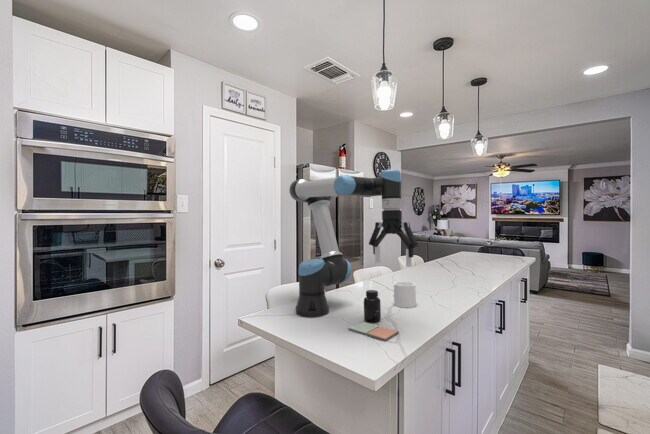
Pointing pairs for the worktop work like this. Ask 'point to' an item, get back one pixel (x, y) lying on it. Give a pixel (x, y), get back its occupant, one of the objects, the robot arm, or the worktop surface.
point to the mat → (374, 331)
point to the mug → (404, 294)
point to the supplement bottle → (372, 307)
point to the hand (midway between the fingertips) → (392, 264)
